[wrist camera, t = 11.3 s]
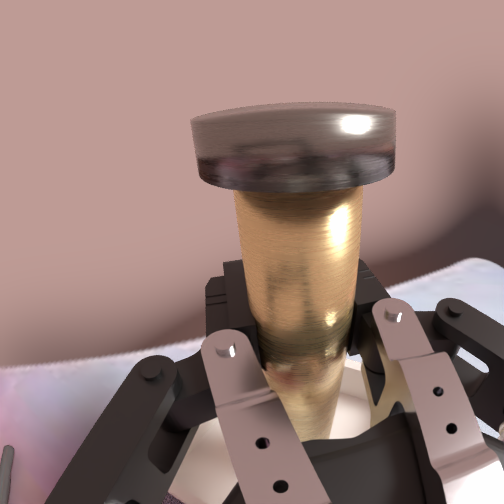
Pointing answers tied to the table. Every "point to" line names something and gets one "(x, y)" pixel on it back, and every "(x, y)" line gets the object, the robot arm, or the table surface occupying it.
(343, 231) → the lock pin
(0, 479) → the walkie-talkie
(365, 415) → the parts tray
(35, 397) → the table surface
